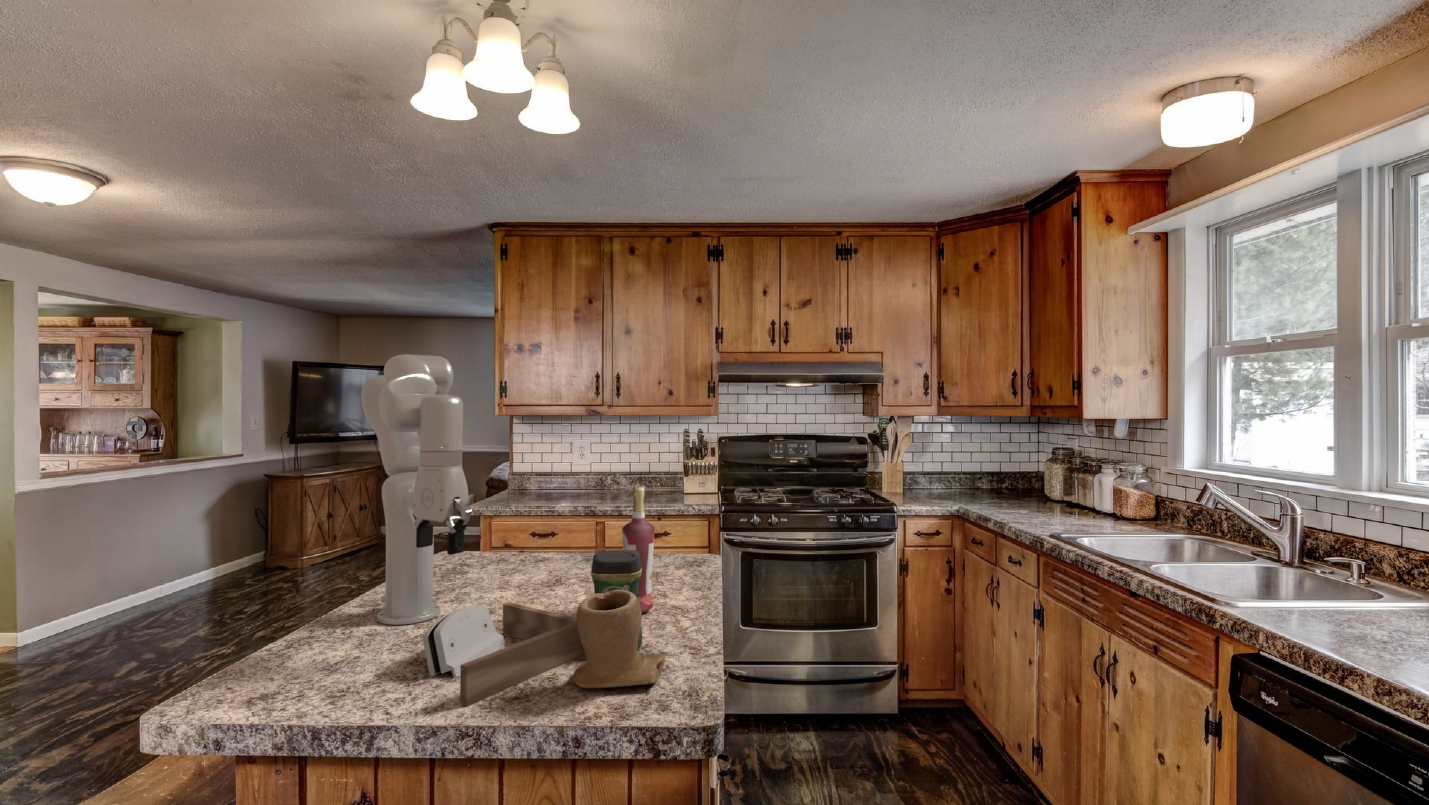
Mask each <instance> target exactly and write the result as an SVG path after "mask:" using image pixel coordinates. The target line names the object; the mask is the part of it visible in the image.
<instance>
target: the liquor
mask: <svg viewBox="0 0 1429 805" xmlns="http://www.w3.org/2000/svg"><path fill="white" fill-rule="evenodd" d="M632 498H633V503H632V504H633V505H632V506H633V507H632V515H631V521H630V522H627V523H626V524H625V525H623V526H622V527H621V532H622V550H637V551H638V552H639V555H640V560H641V567H642V574H641V577H640V580H639V584H638V594H639V603H640V607H641V613H642V614H647V613H648V612H649V611H650V610H651V609H652V608H653V607H654V603H653V600H652V594H653V593H652V589H653V588H652V586H653V566H654V552H655V550H654V549H655V548H654V547H655V531H656V530H655V528H656V527H655V526H654V525H653V524H652V523H651V522H648V521H646V517H645V516H646V515H645V505H644V504H645V503H644V500H645V486H632Z"/></svg>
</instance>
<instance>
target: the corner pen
mask: <svg viewBox="0 0 1429 805" xmlns="http://www.w3.org/2000/svg"><path fill="white" fill-rule="evenodd" d="M502 635H505V636H508V635H509V636H508V637H511V638H512V637H513V638H515V639H519V638H520V640H522V639H523V640H522V641H520V642H517V643H515V644H512V645H509V646H507V647H503V648H501V649H499V650H498V651H496V652H493V653H491V654H488V655H485V656H483V657H480V658H478V659H475V660H472V661H470V662H467V663H464V664H462V665H461V672H460V676H459V677H460V682H459V684H460V685H459V688H460V689H459V691H460V692H459V695H460V697H459V698H460V700H459V704H460V705H461V706H463V707H465V708H466V707H469V706H471V705H474V704H476V703H478V702H480V701H483V700H485V699H488V698H489V697H491V696H494V695H495V694H498V693H500V692H503V691H505V690H507V689H509V688H511V687H514V686H517V685H519V684H521V683H523V682H525V681H528V680H529V678H530V679H531V678H535V677H537V676H539V675H541V674H543V673H545V672H547V671H549V670H551V669H553V668H557V667H559V666H560V665H563V664H565V663H567V662H569V661H570V662H571V661H572V660H575V659H576V658H577V659H578V657H581V656H583V655H586V653H585V650H584V648H583V645H582V643H581V640H580V637H579V633H578V626H577V617H573V616H569V615H568V616H567V615H564V614H560V613H555V612H551V611H547V610H543V609H538V608H534V607H530V606H527V605H526V606H525V605H521V604H518V603H517V604H516V603H515V602H514V603H512V602H507V603H503V605H502ZM482 699H483V700H482Z"/></svg>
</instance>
